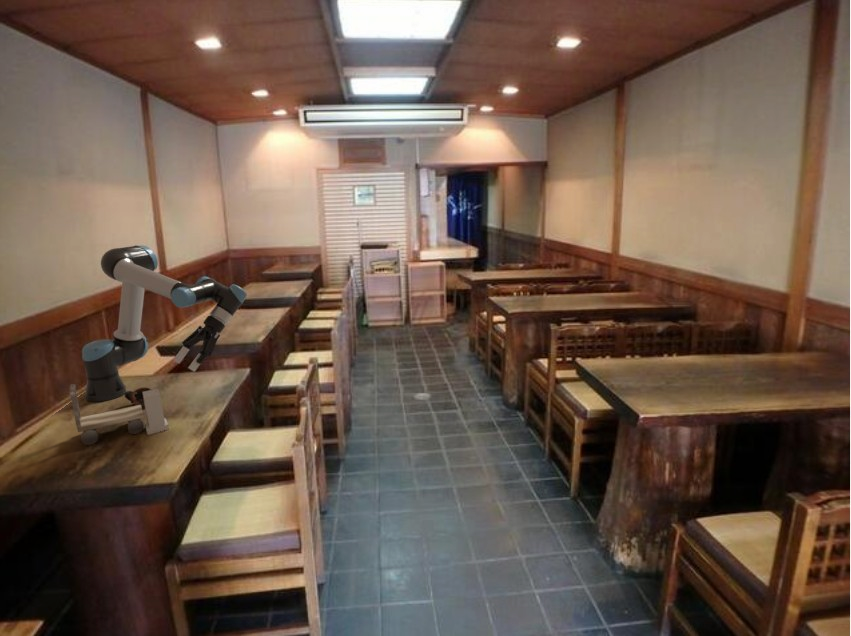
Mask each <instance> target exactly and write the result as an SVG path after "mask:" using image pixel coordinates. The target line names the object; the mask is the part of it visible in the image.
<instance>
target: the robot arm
mask: <svg viewBox="0 0 851 636" xmlns="http://www.w3.org/2000/svg"><path fill="white" fill-rule="evenodd" d="M158 261H159V260H158V257H157V255H156V253H155V252H154V250H153V249H152V248H150V247H149V246H147V245H142V244H141V245H132V246H131V245H130V246H125V247H116V248H115V247H114V248H111V249H109V250H107V251H106V252H104V254H103V255H102V257H101V259H100V267H101V269H102V272H103V273H104V274H105V275H106V276H107V277H109V278H111V279H113V280H114V281H118V282H121V292H120V293H121V294H120V305H119V312H118V313H119V315H118V324H117V329H116V330H115V331H113V335H112V339H110V338H103V339H98V340H94V341H90V342H88V343H86V344H85V345H84V346H83V347H82V349H81V353H82V354H81V355H82V356H81V358H82V361H83V365H84V366H83V367H84V370H85V376H86V381H87V382H86V387H85V392H84V397H85V400H86V401H87V402H91V403H92V402H93V403H98V402H104V401H105V402H106V401H110V400H114V399H117V398H120V397H122V396H123V395H124V396H125V393H126V392H127V387H126V385H125V383H124V382H123V379H122V378H121V377H120V374H119V369H118V368H119V367H122V366H124V365H126V364H129V363H132V362H136V361H138V360H140V359H142V358H144V356H146V354H147V352H148V351H149V350H148V349H149V341H147V338H146V336H145V335H144V333H143V332H142V331H141V325H142V316H143V308H144V297H145V290H148V291H149V292H153V293H154V294H157V295H160V296H163V297H165V298H168V299H170V301H171V302H172V304H174V306H175V307H177V308H181V309H182V308H189V307H192V306H195V305H198V304H201V303H204V302H208V301H212V302H214V303H216V304H215V306H214V307H213V309H211V311H210V312H209V315H207V316H206V317H205V319H204V320H203V324H204V327H203V326H202V325H199V326H198V327H197V328H196V329H195V330H194V331H193V332H192V333H190V334H189V335H188V336H187V337H186V338H185V339H184V340H183V341H182V342H181V344H182V347H181V349H180V350H179V351H178V353H177V354H176V355H175V356H174V358H173V359H172V361H174V362H175V363H177V364H181V362H182V361H183V360H184V358H185V357H186V355H187V354H188V353H189V351H191V348H192V347H193V346H195V345H197V344H198V343H199V342H203V343H202V346H201V350H200V351H198V354H197V355H196V357H195V358H193V360H192V362H191V363H190V365H189V366H188V367H187V369H189V370H191V371H192V372H193V373H195V372H196V370H197V369H198V368H199V367H200V365H201V364H202V362H203V361H204V360H205V358H207V357H211V356H212V354H213V352H214V349H215V347H216V344H217V342H218V340H219V338H220V337H221V335H220V334H221V333H222V332H223V330H224V329H225V327H226V325H228V323H229V322H230V321H231V319H232V318H233V316H234V315H235V314H236V312H237V311H238V309H239V308H240V307H241V306H242V305H243V303H244V301H245V300H246V298H247V296H248V295H247V294H248V293H247V291H246V290H244V289H243V288H242V287H240V286H239V285H237V284H234V283H233V284H231V285H230V286H226V285H224V284H222V283H220V282H218V281H216V280H215V279H214V278H210V277H209V276H201V277H200V278H199V279H197V280H196V282H195V283H194V284H187V283H184V282H181V281H180V280H176V279H174V278H171V277H169V276H166V275H164V274H163V273H159V272H156V271H155V270H156V269H157V268H158V265H159V262H158Z"/></svg>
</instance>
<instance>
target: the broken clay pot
mask: <svg viewBox="0 0 851 636" xmlns="http://www.w3.org/2000/svg"><path fill="white" fill-rule="evenodd" d="M149 390H152V389H151V388H150V387H143V386H142V387H138V388H136V389H135V390H134V391H131V390H128V391H127V390H126V393H125V394H124V397H125V399H126V400H128V401H129V402H131V405H132V404H134V406H137V405H141V407H145V404H144V398H143V392H144V391H149Z"/></svg>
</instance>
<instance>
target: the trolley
mask: <svg viewBox="0 0 851 636" xmlns="http://www.w3.org/2000/svg"><path fill="white" fill-rule="evenodd" d="M69 396H70V401H71V405H72V410H73V415H74V420H75V425H76V429H77V433H81V432H82V433H81V435H80V441H81V443H82V444H84V445H86V446H90V445H94V444H95V443H97V442H98V439H99V432H98V431H97V430H98V429H99V428H103V427H108V426H113V425H118V424H121V423H126V422H128V424H127V430H128V432H129V433H131V434H132V435H133V434H134V435H137V434H140V433H141V432H143V430H144V428H145V423H144V421H142V419H144V418H145V416H144V412H143V408H142V407H143V406H142V407H141V405H137V406H135V405H134V406H128V407H124V408H119V409H118V408H117V409H114V410H109V411H105V412H101V413H96V414H90V415H87V416H86V415H85V416H81V410H80V405H79V399H78V396H77V390H76V384H74V383H72V384H70V385H69Z"/></svg>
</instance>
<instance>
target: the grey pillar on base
mask: <svg viewBox="0 0 851 636" xmlns="http://www.w3.org/2000/svg"><path fill="white" fill-rule="evenodd" d="M143 398H144V404H145V405H144V409H145V416H146V422H144V428H146V429H145V431H146V434H147V436H149V435H152V434H157V433H161V432H164V430H165V431H168V429H169V430H170V426H169V422H168V421H167V418H166V417H165V416H164V409H163V403H162V396H161V392H160V390H159V389H158V388H154V389H151V390H149V391H144V392H143ZM160 431H161V432H160Z"/></svg>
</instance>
